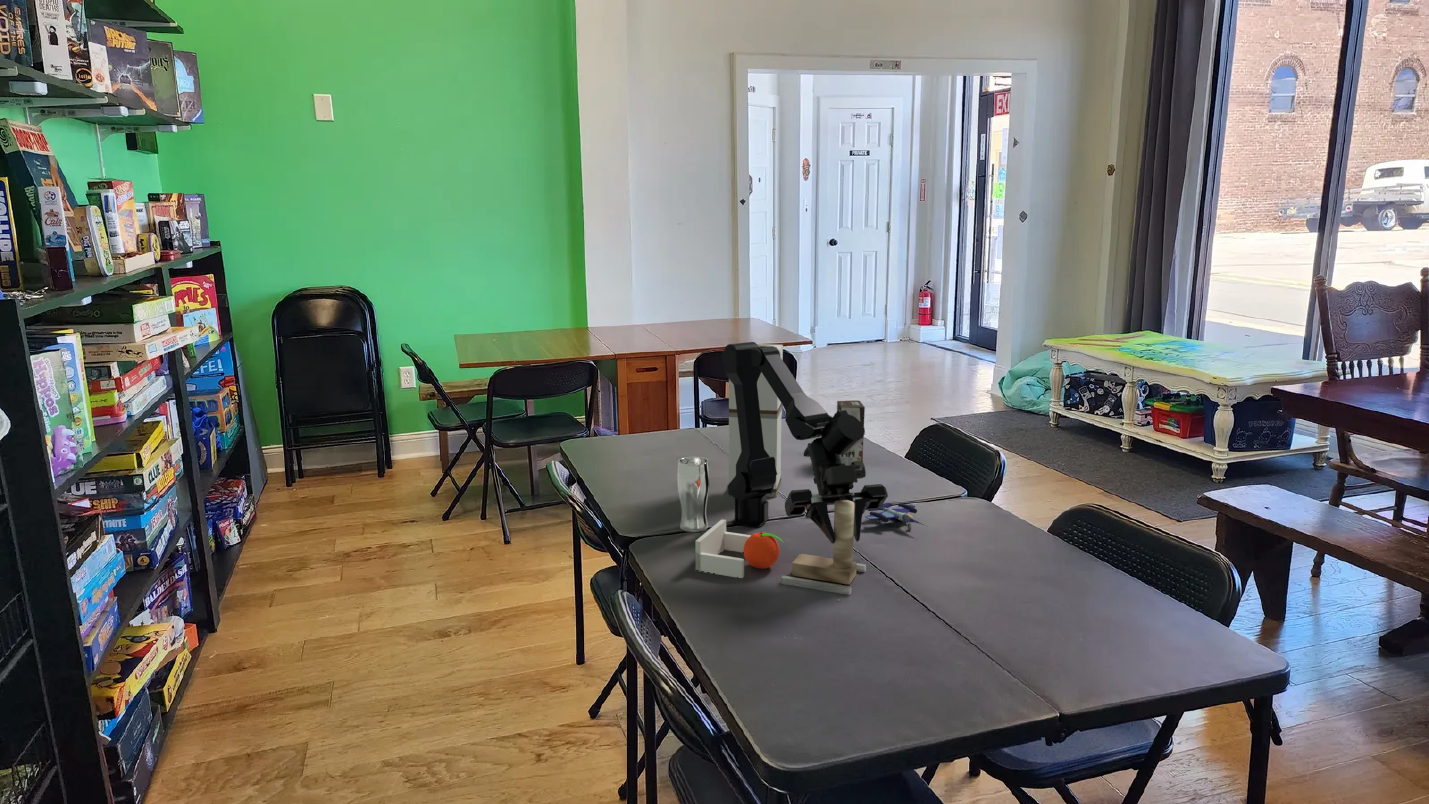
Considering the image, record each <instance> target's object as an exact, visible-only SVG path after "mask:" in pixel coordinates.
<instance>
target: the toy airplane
mask: <svg viewBox="0 0 1429 804" xmlns="http://www.w3.org/2000/svg"><path fill="white" fill-rule="evenodd" d="M897 506H898V507H897ZM897 506H895V507H894V508H893V504H892V503H889V502H888V503H887V502H886V503H883V504H882V506H881V507H880V508H879V509H876V510H867V511H868V512H869V515H865V516H864V517H865V519H867V520H876V522H877V523H881V522H884V523H888V522H889V521H891V522H893V523H896V524H898V523H899V524H905V523H906V529H907V531H909V532H911V531H912V525H911V523H915V524H919V525H923V526H926V527H927V525H926V524H923V523H921V522H919V521H917V520H916V519H915V518H914V517H913V516H912V513H913V514H917V513H918V509H917V508H916V506H915V505H914V504H909V503H908V504H907V503H901V502H900V503H898V504H897ZM891 507H892V508H891ZM876 511H880V512H876ZM908 522H909V523H908ZM908 524H909V525H908Z"/></svg>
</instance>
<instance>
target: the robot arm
mask: <svg viewBox="0 0 1429 804" xmlns="http://www.w3.org/2000/svg"><path fill="white" fill-rule="evenodd" d="M724 347H725V348H724V350H723V351H722V352H721V362H722V364H723V369H724V374H725V375H726V377H727V378H728V380H729V379H730V381H731V382H732V383H733V385H734V390H735V399H736V407H737V416H738V425H739V434H740V442H741V454H740V456H739V458H738V461H737V463H736V476H735V477H734V478H733V480H732V481H731V482H730V483H729V482H728V484H727V491H728V496H730V497H732V498H733V499H734V518H733V520H732V521H731V524H733V525H740V526H748V527H753V528H760V527H762V525H763V524H765V523H766V522H767V521H768V520H769V517H770V516H769V501H768V500H767V497H766V494H772V492H773V488H774V484H775V483H776V475H777V471H776V466H775V458H774V457H770V456H769V455H768V453H767V452H766V451H765V449H764V441H763V433H762V424H761V415H760V406H759V397H758V388H757V381H758V379H759V377H760V374H761V372H762V374H763V375H764V377H765V378H766V380H767V381H768V383H769V385H770V386H771V388H772V389H773V391H774V392H775V394H776V395H777V397H778V399H779V400H780V402H781V403H782V407H783V409H784V411H785V417H784V418H785V419H784V420H785V424H786V425H787V427H788V429H789V431H790V434H791V435H792V437H794V439H795V440H797V441H798V440H799V441H805V440H810V439H811V440H812V439H814V440H812V441H811V442H809V443H807V446H806V448H805V449H804V451H803V454H802V455H803V457H808V458H810V462H811V466H812V470H813V474H814V475H813V476H814V477H813V483H814V485H816V487H817V488H816V489H817V492H818V493H816V494H815V493H814V494H813V493H812V490H811V489H809V488H805V489H804V488H803V489H794V490H793V489H792V490H791V491H790V492H789V494H788V496H787V498H786V500H785V502H784V511H785V514H786V516H788V517H794V516H796V517H797V516H802V515H803V514H804V513H805V512H806V513H805V516H804V517H805V518H806V519H810V520H811V521H812V522H813V523H814V524H815V525H816V526H817V527H818V528H819V529H820V530H821V531H822V533H823V534H824V535H825V537H826V538H827V539H828V540H829V542H830V543H831V544H834V543H835V535H834V527H833V525H832V523H831V522H832V521H831V518H830V515H829V510H828V508H829V507H828V506H830V505H831V506H833V505H835V501H838V500H849V501H852V502H854V535H853V538H854V539H855V542H859V541H860V539H861V531H862V520H863V519H862V518H863V515H864V514H865V511H868V510H876V509H879V508H880V507H881V506H882V504H885V501H886V500H887V498H889V494H888V491H887V487H885V485H884V484H882V483H879V484H878V483H875V484H864V486H862V489H861V491H860V492H851V491H850V490H853V488H854V483H855V484H856V483H858V481H859V480H860V479H863V478H866V474H867V472H866V466H865V464H864V460H863V461H854V462H852V463H851V465H845V463H843V464H842V460H841V456H840V455H843V454H846V453H847V452H848V451H849V450H850V449H851V448H852V447H853V446H854V445H855V444H857V443H858V442H859V441H860V440H861V439H862V438H863V437H865V433H866V431H865V425H864V426H863V424H862V422H860V421H859V420H858V419H857V418H856V417H854V416H852V415H849V414H848V413H847V411H846V410H840V411H837V410H836V412H835V413H834V415H833V416H832V415H829V413H828V412H827V410H826V409H824V407H823V406H822V405H821V403H819V402H818V401H816V400H815V399H813V398H811V397H809V396H808V395H807V394H806V393H805V391H804V390H803V389H802V387H801V385H800V384H799V382H797V380H796V378H795V377H794V375H793V373H792V372H791V371H790V369H789V367H788V366H787V365H786V363H785V362H784V360H782V359H781V357H780V352H779V350H778V349H777V348H776V347H773V346H771V347H768V346H758V345H757V342H755V341H747V342H745V341H744V342H739V343H738V342H737V343H729V344H727V345H726V346H724ZM863 439H864V438H863Z"/></svg>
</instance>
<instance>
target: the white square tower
mask: <svg viewBox="0 0 1429 804" xmlns="http://www.w3.org/2000/svg"><path fill="white" fill-rule="evenodd" d="M756 344H757V343H756ZM757 345H758V346H768V347H771V346H773V347H776V348H777V349H778V350H779V352H780V357H781V359H782V360H783V354H784V353H783V352H784V344H770V343H769V344H768V343H767V344H761V343H758V344H757ZM783 361H784V360H783ZM757 388H758V397H759V406H760V415H761V424H762V433H763V441H764V449H765V451H766V452H767V453H768V455H769V456H770V457H774V458H775V466H776V471H777V475H776V483H775V484H774V488H773V492H772V494H766V498H777V496H778V495H779V490H780V488H781V486H782V475H781V474H782V472H781V471H782V469H781V465H782V415H783V405H782V403H781V402H780V400H779V399H778V397H777V395H776V394H775V392H774V391H773V389H772V388H771V386H770V385H769V383H768V381H767V380H766V378H765V377H764V375H763V374H762V372H761V374H760V377H759V379H758V381H757ZM740 454H741V442H740V434H739V425H738V416H737V407H736V399H735V390H734V385H733V383H732V382H731V381H730V379H729V378H728V484H729V483H730V482H731V481H732V480H733V478H734V477H735V476H736V463H737V461H738V458H739V456H740Z"/></svg>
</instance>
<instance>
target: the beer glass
mask: <svg viewBox="0 0 1429 804" xmlns="http://www.w3.org/2000/svg"><path fill="white" fill-rule="evenodd" d="M709 462H710V461H709V459H708V458H706V457H703V456H702V457H701V456H685V457H681V458H679V459H678V461H677V472H676V473H677V476H676V477H677V491H678V496H679V501H680V508H681V518H680V525H679V528H680V530H682V531H684V532H688V533H689V532H690V533H698V532H703V531H706V530H708V528H709V523H708V518H707V517H708V516H707V507H708V506H707V505H708V500H709V499H708V498H709V494H710V485H711V478H710V476H711V473H710V471H711V470H710V463H709Z"/></svg>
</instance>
